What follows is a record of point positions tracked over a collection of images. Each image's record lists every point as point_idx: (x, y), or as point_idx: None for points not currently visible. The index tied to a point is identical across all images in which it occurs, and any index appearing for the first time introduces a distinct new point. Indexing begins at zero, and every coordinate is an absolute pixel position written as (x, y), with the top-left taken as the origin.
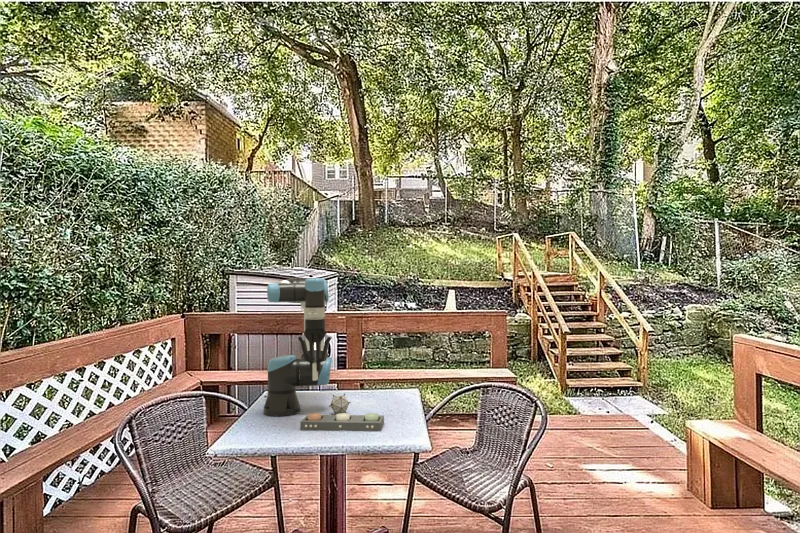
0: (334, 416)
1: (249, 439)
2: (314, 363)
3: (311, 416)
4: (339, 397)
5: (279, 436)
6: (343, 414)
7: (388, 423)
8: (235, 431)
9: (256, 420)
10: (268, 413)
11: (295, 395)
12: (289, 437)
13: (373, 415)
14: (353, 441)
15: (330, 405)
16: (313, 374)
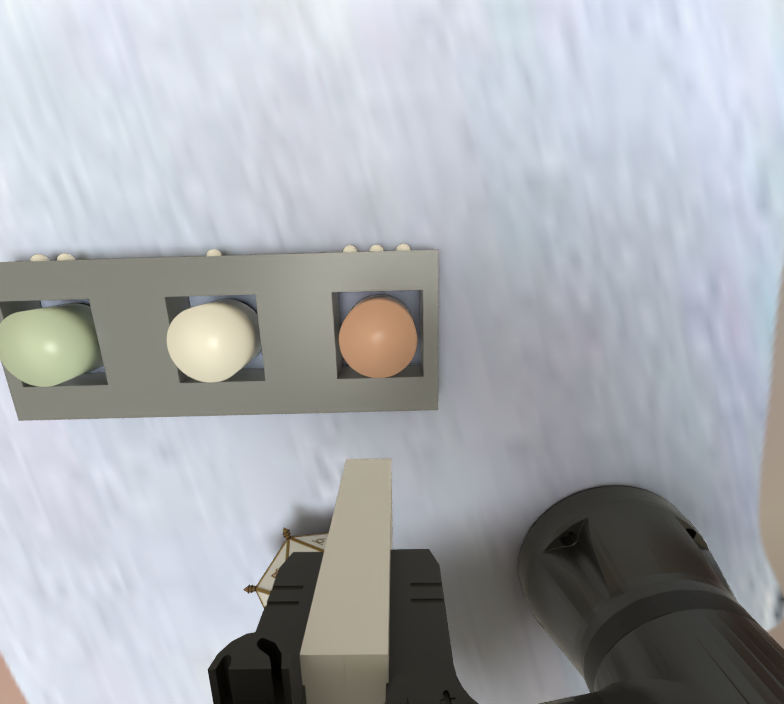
0: (278, 382)
1: (668, 36)
2: (341, 655)
3: (384, 301)
4: None
5: (514, 115)
6: (204, 349)
7: None
8: (775, 198)
9: (700, 414)
10: (663, 500)
11: (571, 633)
12: (454, 98)
13: (19, 336)
14: (82, 44)
15: None
16: (376, 501)
